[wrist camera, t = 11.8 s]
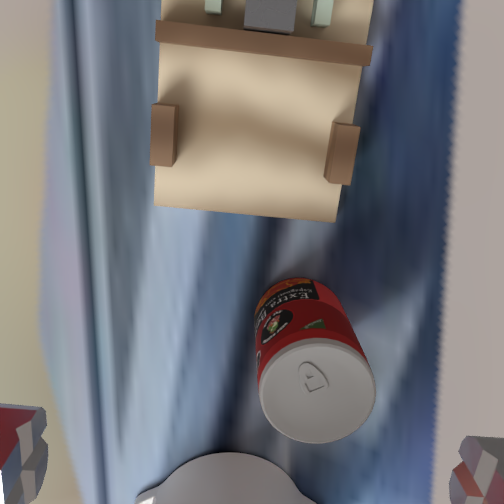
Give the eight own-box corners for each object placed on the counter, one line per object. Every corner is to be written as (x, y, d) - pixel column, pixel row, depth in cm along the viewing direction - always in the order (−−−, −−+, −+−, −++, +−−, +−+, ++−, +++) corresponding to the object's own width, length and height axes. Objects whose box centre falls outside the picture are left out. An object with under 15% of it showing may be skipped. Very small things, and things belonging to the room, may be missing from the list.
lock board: (332, 218, 38) (341, 232, 35) (156, 201, 37) (148, 214, 34) (394, -147, 30) (415, -176, 26) (171, -180, 29) (162, -215, 26)
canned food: (302, 256, 39) (326, 320, 29) (361, 320, 41) (402, 400, 31) (234, 312, 41) (232, 392, 30) (293, 371, 43) (311, 463, 33)
